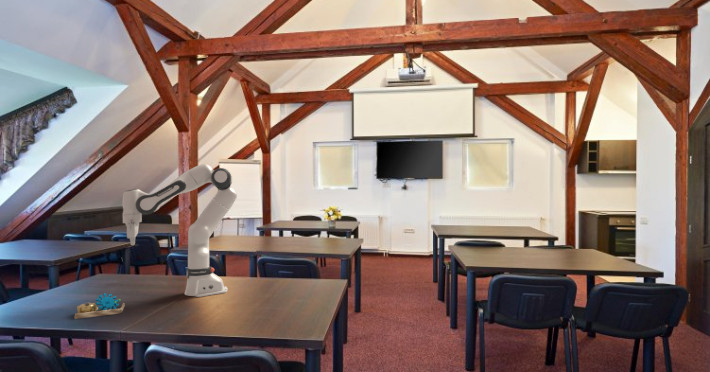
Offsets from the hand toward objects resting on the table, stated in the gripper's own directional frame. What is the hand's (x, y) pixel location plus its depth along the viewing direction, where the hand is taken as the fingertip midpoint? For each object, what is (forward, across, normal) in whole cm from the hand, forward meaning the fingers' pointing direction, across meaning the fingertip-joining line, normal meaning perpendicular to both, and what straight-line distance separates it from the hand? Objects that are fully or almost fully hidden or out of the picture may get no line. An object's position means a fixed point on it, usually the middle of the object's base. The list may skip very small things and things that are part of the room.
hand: (132, 245), depth 200 cm
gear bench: (+28, -23, +12) cm, 38 cm away
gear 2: (+28, -20, +9) cm, 36 cm away
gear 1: (+27, -22, +17) cm, 39 cm away
